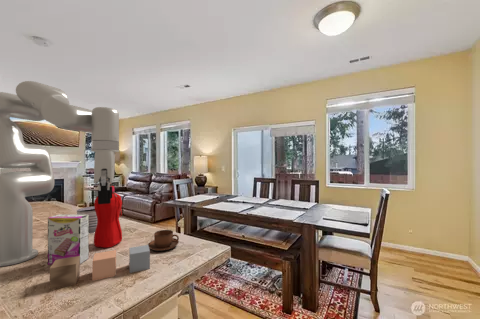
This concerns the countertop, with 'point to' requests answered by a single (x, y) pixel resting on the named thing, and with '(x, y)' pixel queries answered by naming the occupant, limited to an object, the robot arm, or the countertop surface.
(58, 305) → the countertop surface
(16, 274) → the countertop surface
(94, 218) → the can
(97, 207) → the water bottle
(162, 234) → the cup and saucer
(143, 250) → the slate grey block
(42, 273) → the countertop surface
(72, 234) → the candy bar box
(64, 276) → the walnut block
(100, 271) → the terracotta block
